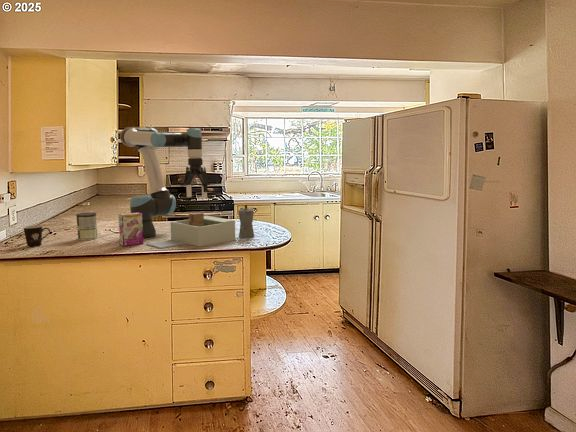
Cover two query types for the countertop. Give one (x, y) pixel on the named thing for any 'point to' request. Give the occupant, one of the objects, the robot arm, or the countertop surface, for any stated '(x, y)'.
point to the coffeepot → (246, 222)
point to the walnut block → (196, 219)
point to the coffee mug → (34, 235)
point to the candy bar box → (131, 229)
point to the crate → (203, 231)
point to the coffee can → (87, 226)
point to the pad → (165, 244)
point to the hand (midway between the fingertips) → (196, 197)
